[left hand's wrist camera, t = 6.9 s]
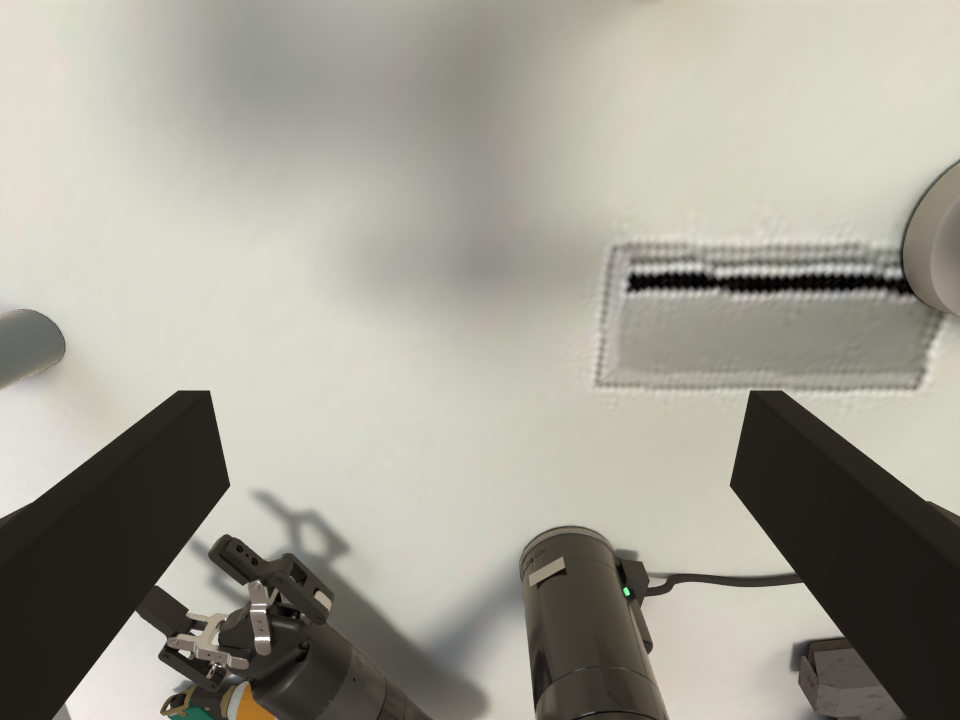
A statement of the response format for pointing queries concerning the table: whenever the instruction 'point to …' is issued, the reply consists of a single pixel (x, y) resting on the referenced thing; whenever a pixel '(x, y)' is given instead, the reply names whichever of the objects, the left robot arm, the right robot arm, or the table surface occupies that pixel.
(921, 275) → the bust sculpture
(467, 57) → the table surface
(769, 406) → the left robot arm
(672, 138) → the table surface
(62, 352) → the bottle
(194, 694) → the spray gun
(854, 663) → the toy
